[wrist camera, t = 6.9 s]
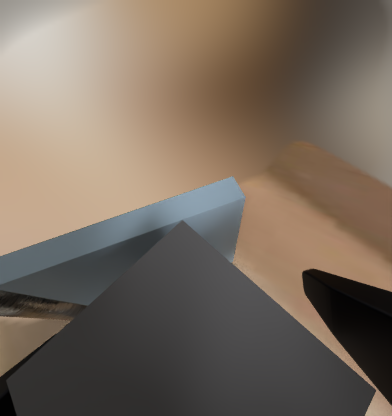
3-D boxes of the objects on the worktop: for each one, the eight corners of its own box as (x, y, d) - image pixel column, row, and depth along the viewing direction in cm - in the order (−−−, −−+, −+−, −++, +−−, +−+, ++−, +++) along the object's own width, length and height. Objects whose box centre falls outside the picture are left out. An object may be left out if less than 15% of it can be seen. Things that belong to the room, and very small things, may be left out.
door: (109, 309, 15) (-10, 288, 7) (105, 273, 16) (3, 223, 9) (232, 261, 16) (245, 197, 8) (219, 231, 17) (218, 152, 9)
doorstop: (256, 343, 13) (375, 390, 3) (210, 406, 12) (155, 867, 2) (207, 292, 15) (182, 220, 5) (163, 342, 14) (6, 380, 4)
